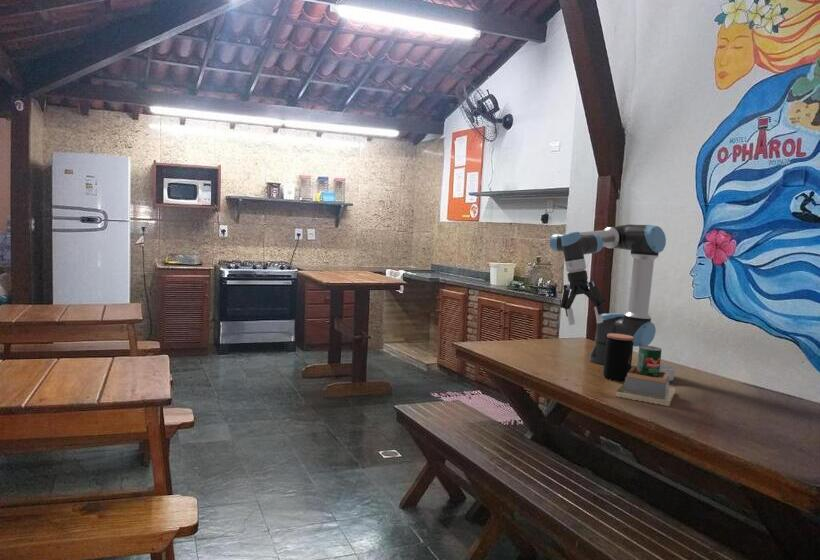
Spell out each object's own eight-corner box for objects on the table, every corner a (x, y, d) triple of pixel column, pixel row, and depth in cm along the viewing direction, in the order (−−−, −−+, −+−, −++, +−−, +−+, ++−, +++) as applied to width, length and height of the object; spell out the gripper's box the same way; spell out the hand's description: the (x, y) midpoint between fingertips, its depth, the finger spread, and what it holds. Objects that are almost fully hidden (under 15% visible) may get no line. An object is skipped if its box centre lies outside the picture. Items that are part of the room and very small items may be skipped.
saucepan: (621, 375, 256) (622, 362, 256) (663, 376, 260) (664, 363, 260) (636, 382, 245) (637, 369, 245) (680, 383, 249) (681, 370, 249)
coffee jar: (632, 383, 243) (636, 339, 242) (605, 380, 245) (609, 336, 244) (626, 376, 254) (631, 334, 252) (600, 374, 256) (604, 332, 254)
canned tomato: (651, 380, 219) (654, 350, 218) (632, 375, 225) (634, 346, 225) (663, 378, 224) (666, 349, 223) (643, 373, 230) (646, 344, 229)
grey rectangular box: (625, 384, 239) (627, 363, 239) (674, 393, 231) (676, 371, 230) (616, 396, 220) (618, 373, 219) (669, 406, 211) (671, 382, 211)
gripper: (546, 275, 247) (555, 326, 247) (596, 268, 227) (606, 323, 226) (558, 273, 251) (567, 323, 251) (608, 266, 231) (618, 320, 231)
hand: (585, 323), depth 239 cm, fingers open, 13 cm apart
